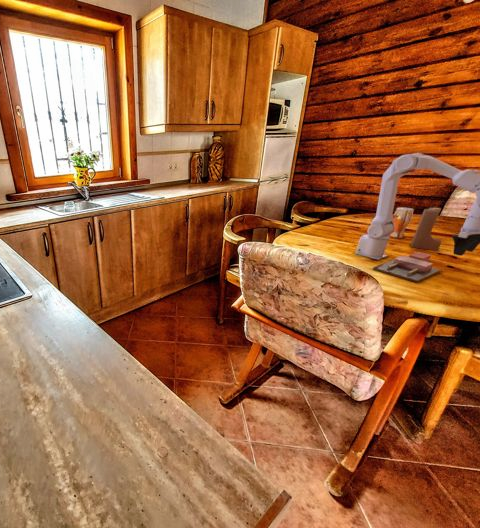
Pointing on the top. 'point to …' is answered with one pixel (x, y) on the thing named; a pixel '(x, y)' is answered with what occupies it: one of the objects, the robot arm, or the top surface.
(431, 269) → the board
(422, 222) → the wooden block
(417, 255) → the loose pad
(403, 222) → the beer glass
